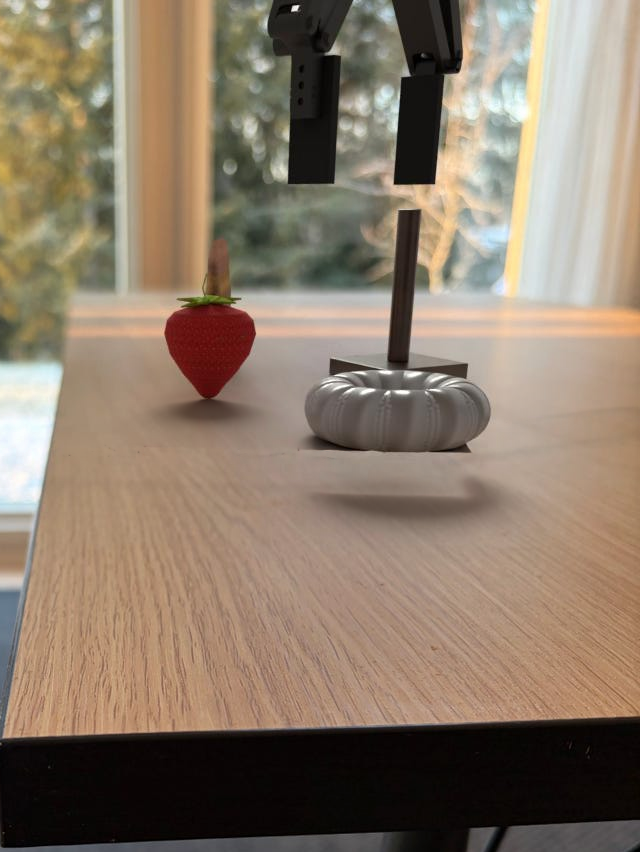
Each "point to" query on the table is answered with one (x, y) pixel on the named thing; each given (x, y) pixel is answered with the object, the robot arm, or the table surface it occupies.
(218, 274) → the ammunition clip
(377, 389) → the ring
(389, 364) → the stand
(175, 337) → the strawberry
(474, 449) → the table surface
